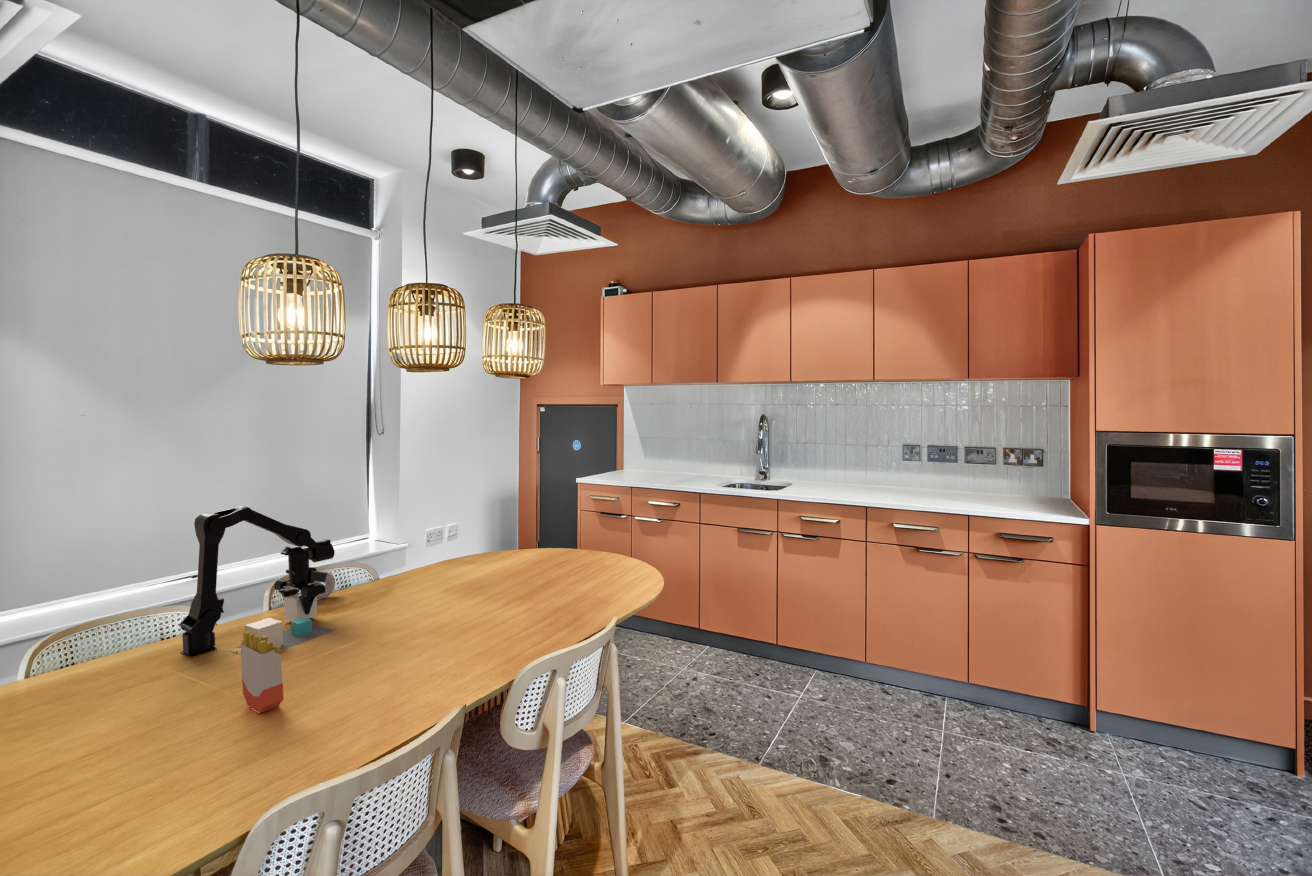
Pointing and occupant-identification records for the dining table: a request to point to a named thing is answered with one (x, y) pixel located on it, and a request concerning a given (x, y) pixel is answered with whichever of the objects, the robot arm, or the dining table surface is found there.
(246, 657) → the french fries container
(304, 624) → the cube
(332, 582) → the donut
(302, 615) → the closed white box
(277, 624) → the white cube
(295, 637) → the mat
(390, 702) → the dining table surface
